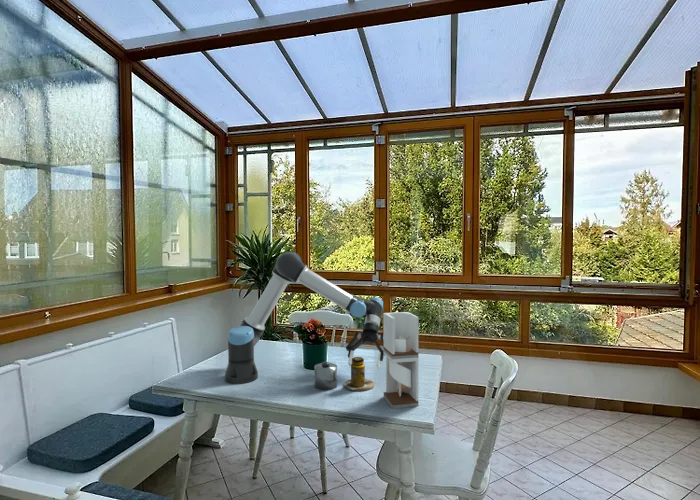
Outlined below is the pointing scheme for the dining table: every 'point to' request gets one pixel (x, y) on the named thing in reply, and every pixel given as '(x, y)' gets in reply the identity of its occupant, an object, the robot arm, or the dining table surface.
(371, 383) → the tan plate
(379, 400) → the dining table surface
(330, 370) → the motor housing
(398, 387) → the display case
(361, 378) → the condiment
